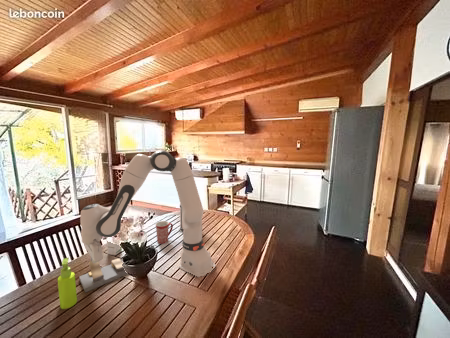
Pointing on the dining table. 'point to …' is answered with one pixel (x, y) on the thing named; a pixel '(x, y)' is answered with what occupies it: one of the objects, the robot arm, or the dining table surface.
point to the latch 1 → (96, 271)
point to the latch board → (109, 275)
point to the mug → (163, 231)
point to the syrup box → (113, 248)
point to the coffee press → (181, 218)
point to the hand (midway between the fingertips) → (93, 261)
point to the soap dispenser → (67, 286)
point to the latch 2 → (117, 264)
